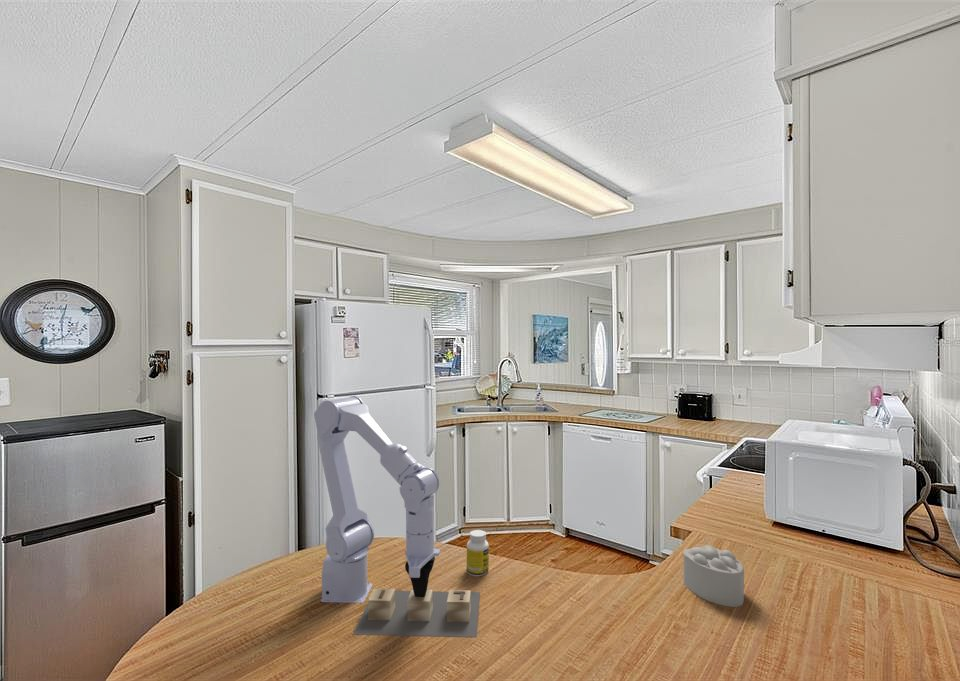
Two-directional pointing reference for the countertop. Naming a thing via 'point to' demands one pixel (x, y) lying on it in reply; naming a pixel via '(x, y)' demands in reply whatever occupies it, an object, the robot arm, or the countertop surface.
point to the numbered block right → (459, 606)
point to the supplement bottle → (477, 553)
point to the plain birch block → (420, 606)
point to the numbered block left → (381, 604)
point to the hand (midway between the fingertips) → (420, 595)
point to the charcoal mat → (421, 628)
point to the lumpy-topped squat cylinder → (714, 575)
